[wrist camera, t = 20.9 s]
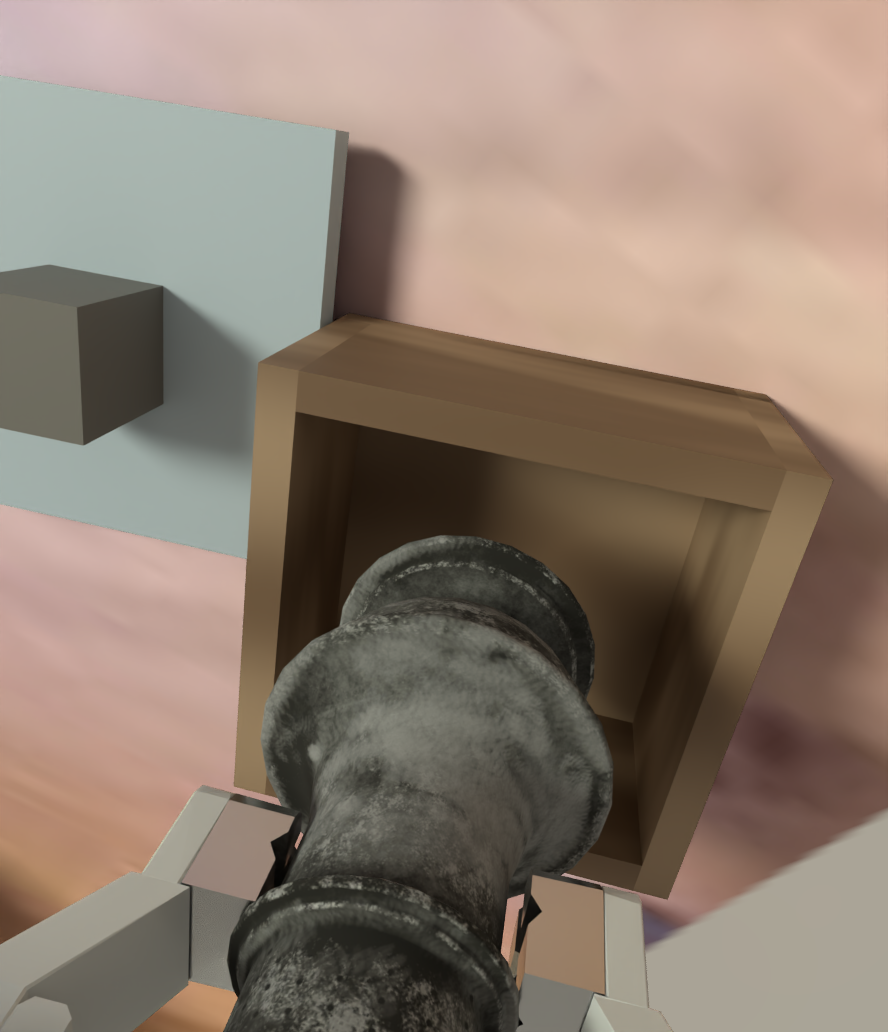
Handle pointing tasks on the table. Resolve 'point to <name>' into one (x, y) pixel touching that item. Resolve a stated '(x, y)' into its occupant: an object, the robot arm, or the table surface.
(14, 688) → the table surface
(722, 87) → the table surface
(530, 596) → the grey chess piece
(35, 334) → the lid
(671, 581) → the box
